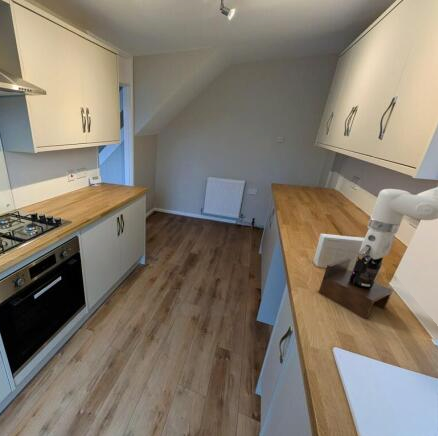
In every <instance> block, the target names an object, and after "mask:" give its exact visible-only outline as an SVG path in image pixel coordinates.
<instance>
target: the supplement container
mask: <svg viewBox="0 0 438 436" xmlns="http://www.w3.org/2000/svg"><path fill="white" fill-rule="evenodd" d="M364 257H365V256H364ZM357 258H358V257H357ZM367 258H368V257H365V259H367ZM356 262H357V260H356ZM355 264H356V263H355ZM367 264H368V267H367V270H366V272H365V273H364V274H363V273H360V272H358V271H356V270H354V269H353V271H351V272H352V274H351V277H350V282H351V283H352V284H353V285H355V286H357V287H360V288H363V289H370V288H372V287H373V284H374V282H376V280H377V277H378V274H379V272H380V270H381V268H382V266H383V261H382V262H381V261H379V260H377V259H373V258H371V259H370V260H369V262H368V263H367ZM354 267H355V266H354Z"/></svg>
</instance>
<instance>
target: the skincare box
mask: <svg viewBox="0 0 438 436" xmlns="http://www.w3.org/2000/svg"><path fill="white" fill-rule="evenodd" d="M364 238H365V237H361V236H349V235H340V234H339V235H338V234H328V233H320V234H319V238H318V241H317V242H318V243H317V246H316V251H315V254H314V257H313V261H312V263H313V265H315V267H317V268H323V269H326V268H327V265H329V264H332V263H335V262H338V261H340V260H343V259H346V258H349V259H351V261H350V263H349V266H348V269H347V270H349V271H351V272H352V271H353V269H354V266H355V263H356V260H357V257H358V253H359V252H360V248H361V245H362V243H363V240H364ZM367 255H369V254H367Z"/></svg>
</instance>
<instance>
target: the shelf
mask: <svg viewBox="0 0 438 436" xmlns="http://www.w3.org/2000/svg"><path fill="white" fill-rule="evenodd" d="M350 261H351V259H349V258H346V259H343V260H340V261H338V262H335V263H332V264H329V265H327V268H325V271H324V274H323V277H322V280H321V283H320V287H319V290H318V293H319V294H320V295H322V296H323V297H326V298H327V299H330V300H331V301H332V302H335V303H336V304H338V305H340V306H342V307H343V308H345V309H347V310H349V311H350V312H352V313H354V314H355V315H357V316H359V317H361V318H362V319H365V320H366V319H368V316H369V314H370V312H371V310H372V307H373V305H376V306H378V307H380V308H381V309H386V307H387V305H388V304H389V302H390V300H391V296H392V295H393V293H394V289H392V288H390V287H387V286H385V285H382V284H381V283H378V282H376V281H375V282H374V284H373V287H372V288H370V289H363V288H360V287H357V286H355V285H353V284H352V283H351V282H350V277H351V274H352V271H349V270H347V269H348V266H349V263H350Z"/></svg>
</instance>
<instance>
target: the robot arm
mask: <svg viewBox="0 0 438 436" xmlns="http://www.w3.org/2000/svg"><path fill="white" fill-rule="evenodd" d="M404 216H406V217H409V218H412V219H416V220H421V221H434V220H438V186H437V187H434V188H430V189H427V190H425V191H421V192H419V193H417V194H412V193H411V192H409V191H407V190H403V189H397V188H384V189H381V190H380V191H379V192H378V195H377V199H376V201H375V204H374V207H373V210H372V212H371V215H370V217H369V220H368V223H367V225H366V226H367V228H368V230H367V232H366V234H365V237H363V238H364V240H363V243H362V245H361V248H360V252H359V253H358V258H357V262H356V264H355V267H354V270H356V271H358V272H360V273H363V274H364V273H365V272H366V270H367V267H368V264H367V263H368V262H369V260H370V259H371V258H373V259H377V260H379V261H381V262H382V263H383V259H384V257H386V256H388V255H389V253H390V251H391V248H392V246H393V243H394V239H395V237H396V234H397V233H398V231H399V229H400V226H401V223H402V221H403V219H404ZM367 254H369V255H367ZM364 256H365V257H368V258H367V259H365V257H364Z"/></svg>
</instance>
